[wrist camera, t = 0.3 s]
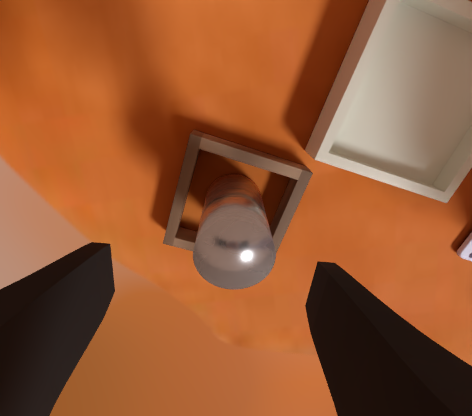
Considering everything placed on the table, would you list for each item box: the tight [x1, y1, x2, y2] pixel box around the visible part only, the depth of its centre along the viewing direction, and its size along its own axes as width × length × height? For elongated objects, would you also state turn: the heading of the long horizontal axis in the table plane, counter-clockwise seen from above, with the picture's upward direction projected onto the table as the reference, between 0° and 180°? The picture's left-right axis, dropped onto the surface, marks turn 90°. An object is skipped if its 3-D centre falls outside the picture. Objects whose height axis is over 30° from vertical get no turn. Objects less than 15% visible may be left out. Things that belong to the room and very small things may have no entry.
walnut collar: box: [163, 130, 313, 252], centre depth 19 cm, size 8×8×2 cm
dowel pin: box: [193, 174, 276, 289], centre depth 16 cm, size 4×4×7 cm
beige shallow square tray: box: [305, 0, 472, 203], centre depth 16 cm, size 9×9×2 cm
